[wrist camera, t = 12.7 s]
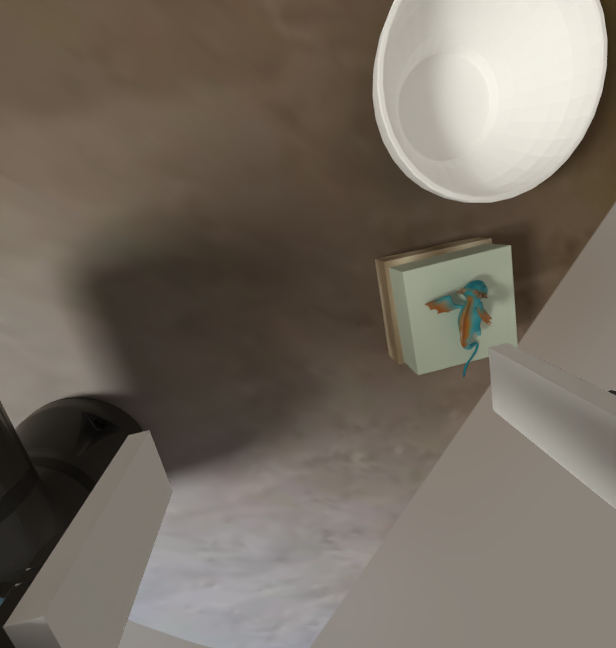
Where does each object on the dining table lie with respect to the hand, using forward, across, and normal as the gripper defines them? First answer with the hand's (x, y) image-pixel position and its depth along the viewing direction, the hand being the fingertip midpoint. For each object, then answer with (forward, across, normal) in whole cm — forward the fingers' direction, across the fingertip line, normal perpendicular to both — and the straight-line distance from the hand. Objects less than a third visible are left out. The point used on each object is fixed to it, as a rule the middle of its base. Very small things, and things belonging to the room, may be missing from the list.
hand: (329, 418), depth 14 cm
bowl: (+29, +20, +15) cm, 38 cm away
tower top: (+25, +17, -5) cm, 31 cm away
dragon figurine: (+22, +16, -6) cm, 28 cm away
